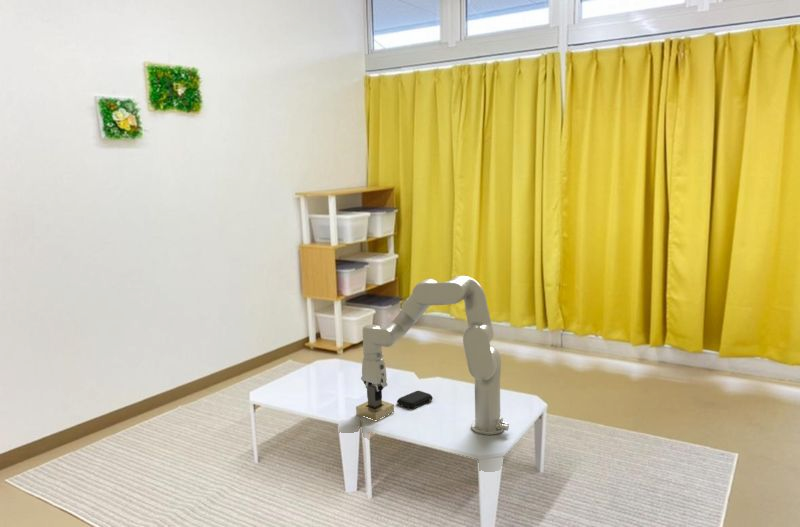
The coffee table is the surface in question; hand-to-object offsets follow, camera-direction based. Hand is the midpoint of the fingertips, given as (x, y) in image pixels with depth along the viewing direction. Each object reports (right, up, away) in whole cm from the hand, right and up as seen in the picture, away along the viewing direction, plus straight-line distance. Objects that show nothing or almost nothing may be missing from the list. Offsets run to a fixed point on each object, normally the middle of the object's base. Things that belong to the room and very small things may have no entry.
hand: (374, 397), depth 228 cm
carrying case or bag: (+17, -5, +11) cm, 21 cm away
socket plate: (0, -7, +1) cm, 7 cm away
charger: (0, -3, 0) cm, 3 cm away
